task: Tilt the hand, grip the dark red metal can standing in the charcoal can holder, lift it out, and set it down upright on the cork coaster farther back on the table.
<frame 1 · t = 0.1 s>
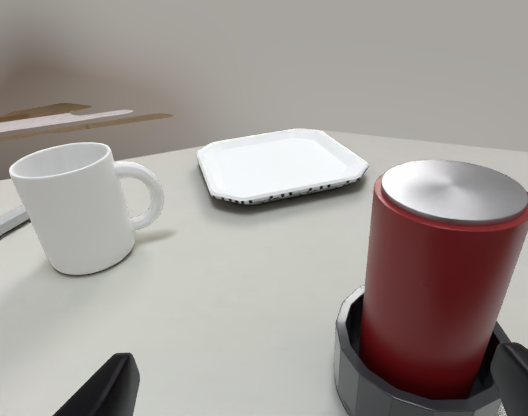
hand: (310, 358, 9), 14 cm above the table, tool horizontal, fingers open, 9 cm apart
tool: (53, 206, 48), on the table
plate: (276, 172, 52), on the table
holder: (409, 381, 23), on the table
mug: (115, 249, 38), on the table
can: (410, 376, 23), resting on holder
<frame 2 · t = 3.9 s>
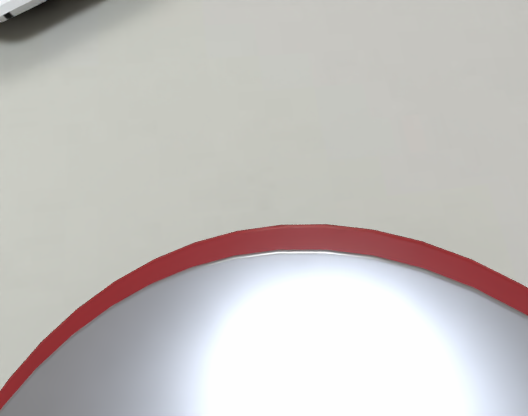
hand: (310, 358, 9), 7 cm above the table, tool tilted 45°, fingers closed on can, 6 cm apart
can: (316, 390, 15), point 1 cm above the table, touching gripper, holder
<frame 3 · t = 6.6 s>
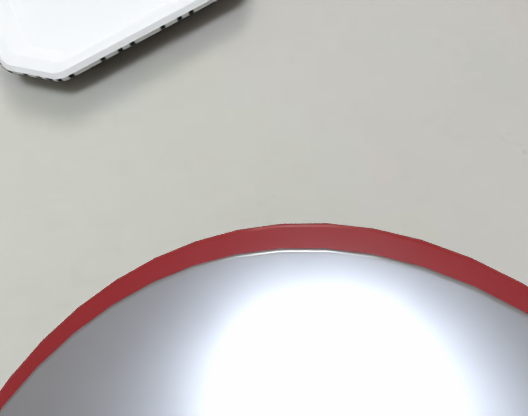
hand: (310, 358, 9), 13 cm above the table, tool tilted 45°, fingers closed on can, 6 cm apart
can: (316, 390, 15), point 7 cm above the table, tilted 5°, touching gripper
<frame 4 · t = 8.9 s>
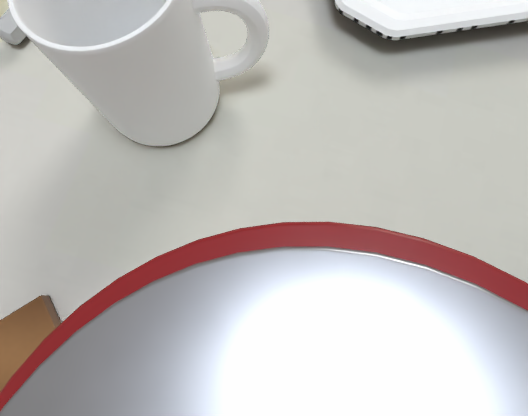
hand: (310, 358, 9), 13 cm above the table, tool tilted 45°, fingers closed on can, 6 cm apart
mug: (191, 95, 27), on the table
can: (316, 389, 15), point 7 cm above the table, tilted 5°, touching gripper
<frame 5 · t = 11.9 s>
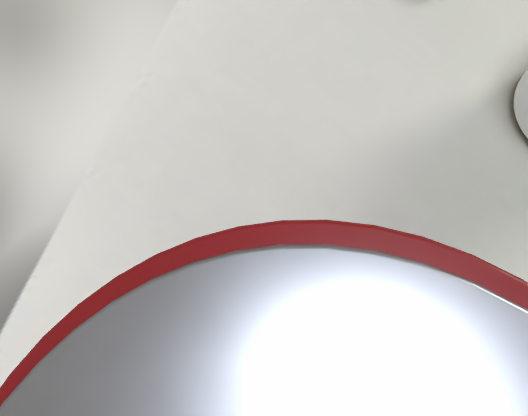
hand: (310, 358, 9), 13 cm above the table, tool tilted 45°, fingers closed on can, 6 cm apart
can: (316, 389, 15), point 7 cm above the table, tilted 5°, touching gripper
when the fingers open (7 cm above the table, at t = 14.1 s): can stays where it is, resting on coaster.
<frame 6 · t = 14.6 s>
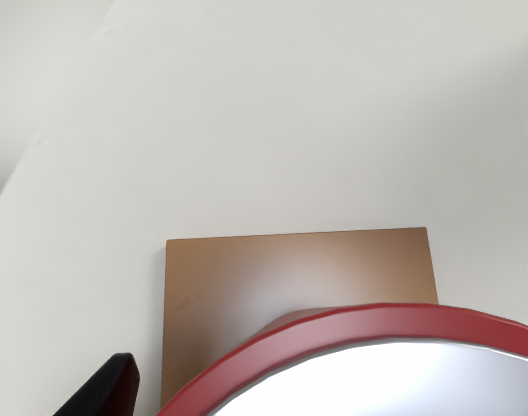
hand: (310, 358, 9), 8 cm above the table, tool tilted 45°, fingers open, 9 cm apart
coaster: (301, 371, 16), on the table
can: (315, 389, 15), point 1 cm above the table, touching coaster, gripper
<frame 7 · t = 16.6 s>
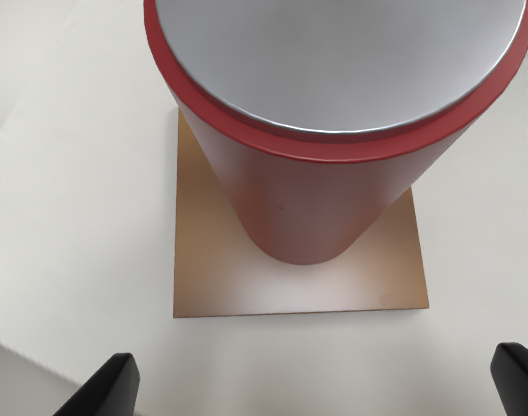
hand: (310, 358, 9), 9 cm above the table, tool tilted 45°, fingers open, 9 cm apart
coaster: (291, 195, 20), on the table
can: (302, 201, 19), point 1 cm above the table, touching coaster
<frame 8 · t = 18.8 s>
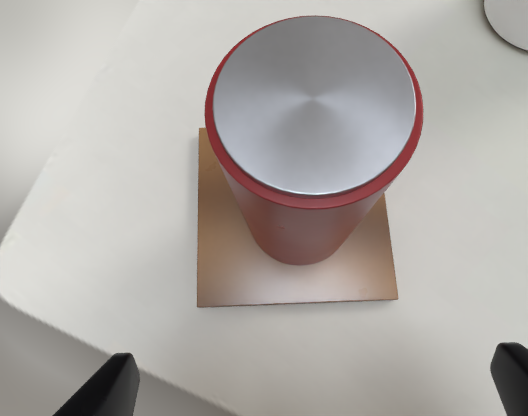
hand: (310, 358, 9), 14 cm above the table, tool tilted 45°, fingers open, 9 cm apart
coaster: (290, 209, 24), on the table
can: (299, 214, 23), point 1 cm above the table, touching coaster
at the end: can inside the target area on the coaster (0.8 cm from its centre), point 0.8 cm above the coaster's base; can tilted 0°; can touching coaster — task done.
